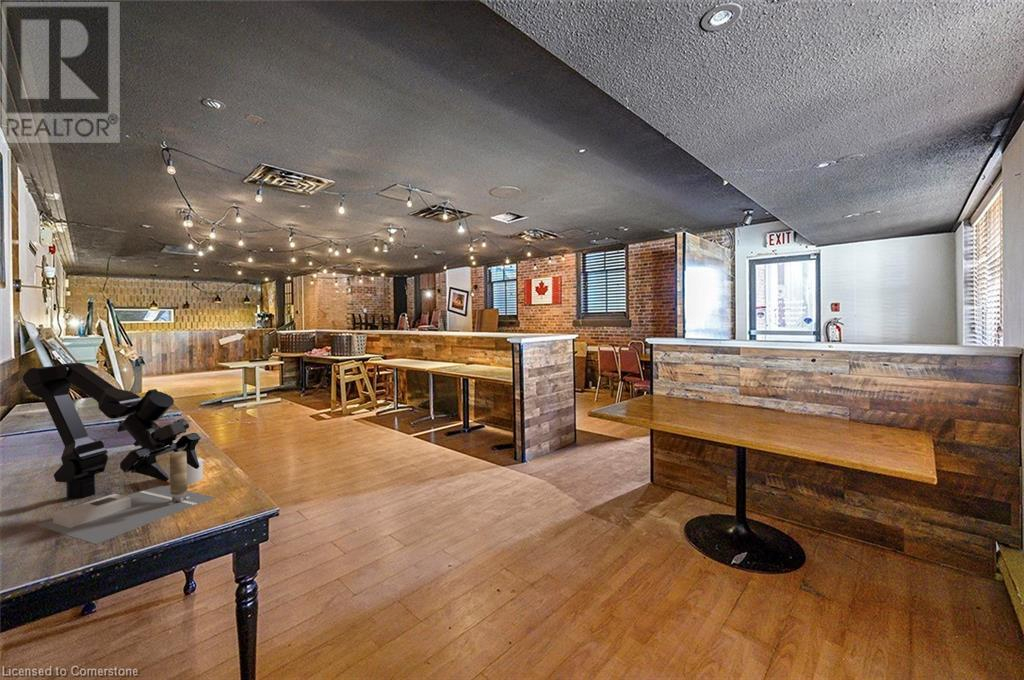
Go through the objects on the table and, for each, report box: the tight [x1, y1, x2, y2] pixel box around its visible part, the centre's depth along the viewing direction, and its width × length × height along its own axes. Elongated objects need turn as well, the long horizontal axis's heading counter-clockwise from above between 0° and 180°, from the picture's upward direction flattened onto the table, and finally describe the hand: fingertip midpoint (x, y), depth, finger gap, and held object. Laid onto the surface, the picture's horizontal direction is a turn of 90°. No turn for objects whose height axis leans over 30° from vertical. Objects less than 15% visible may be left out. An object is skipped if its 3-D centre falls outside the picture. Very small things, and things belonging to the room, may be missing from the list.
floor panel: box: [36, 484, 216, 545], centre depth 107 cm, size 24×26×1 cm
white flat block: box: [52, 493, 131, 528], centre depth 104 cm, size 7×12×3 cm, turn 160°
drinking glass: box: [165, 440, 204, 486], centre depth 130 cm, size 9×9×12 cm
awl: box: [169, 451, 188, 503], centre depth 113 cm, size 4×4×13 cm
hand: (183, 473), depth 112 cm, fingers open, 9 cm apart
